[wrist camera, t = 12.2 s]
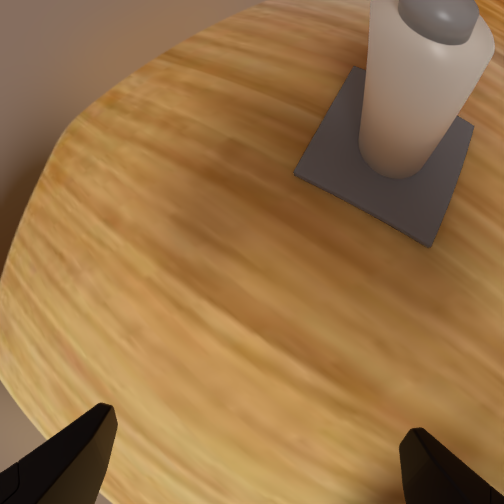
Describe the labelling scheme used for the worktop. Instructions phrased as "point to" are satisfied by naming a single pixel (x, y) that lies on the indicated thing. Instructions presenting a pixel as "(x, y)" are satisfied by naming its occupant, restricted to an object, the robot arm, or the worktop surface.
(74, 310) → the worktop surface
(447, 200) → the charcoal mat
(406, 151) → the cream bottle
